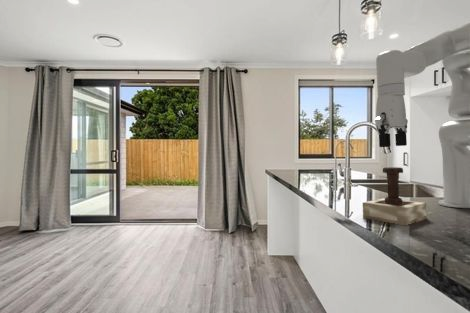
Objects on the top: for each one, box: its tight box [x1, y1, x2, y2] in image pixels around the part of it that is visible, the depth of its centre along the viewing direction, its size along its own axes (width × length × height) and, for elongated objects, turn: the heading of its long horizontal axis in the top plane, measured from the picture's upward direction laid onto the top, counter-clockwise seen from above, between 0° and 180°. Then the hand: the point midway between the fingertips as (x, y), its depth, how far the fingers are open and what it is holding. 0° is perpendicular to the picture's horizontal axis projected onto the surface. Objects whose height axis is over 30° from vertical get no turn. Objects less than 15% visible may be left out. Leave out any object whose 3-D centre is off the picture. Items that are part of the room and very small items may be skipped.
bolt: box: [382, 166, 404, 206], centre depth 90 cm, size 6×5×15 cm
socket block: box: [362, 197, 428, 227], centre depth 90 cm, size 13×13×5 cm
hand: (393, 146), depth 90 cm, fingers open, 9 cm apart
